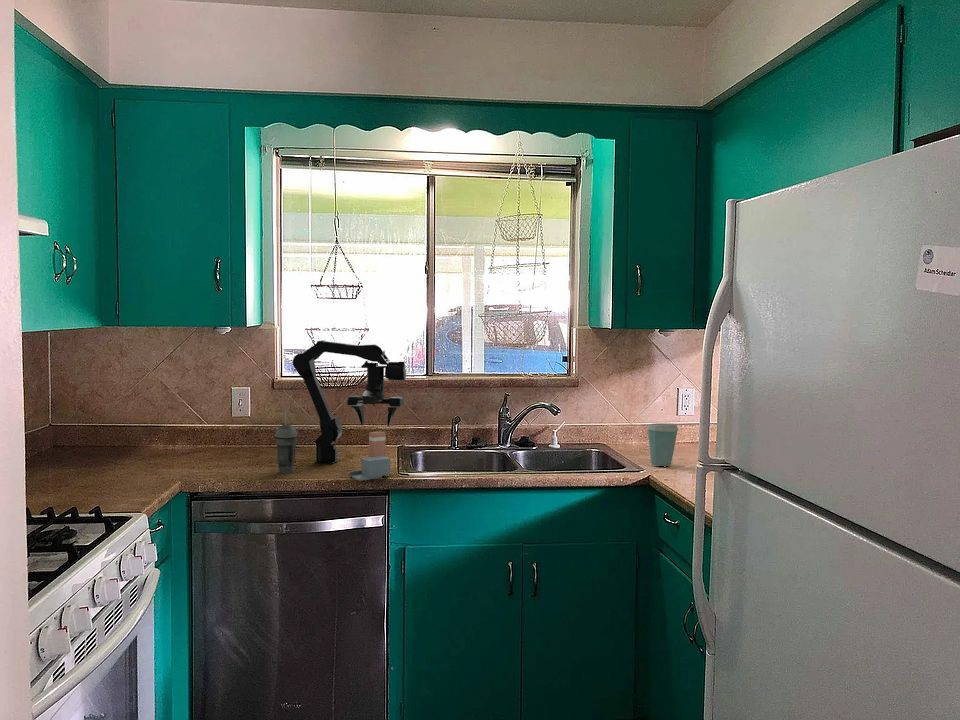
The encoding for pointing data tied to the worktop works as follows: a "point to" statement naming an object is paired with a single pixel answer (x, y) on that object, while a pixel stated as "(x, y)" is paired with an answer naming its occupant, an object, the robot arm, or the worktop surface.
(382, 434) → the pink bottle
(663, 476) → the worktop surface
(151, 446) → the worktop surface
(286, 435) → the beverage cup
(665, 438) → the disposable coffee cup
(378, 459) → the dispenser
